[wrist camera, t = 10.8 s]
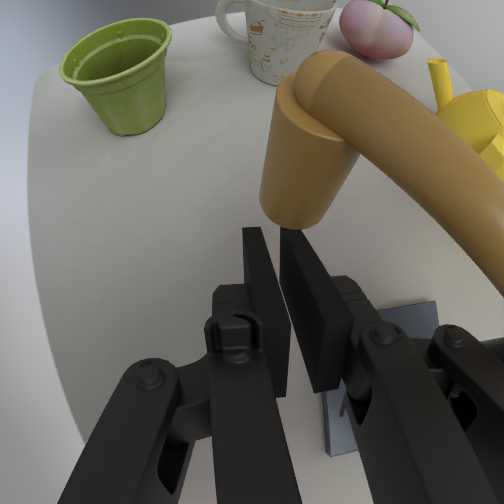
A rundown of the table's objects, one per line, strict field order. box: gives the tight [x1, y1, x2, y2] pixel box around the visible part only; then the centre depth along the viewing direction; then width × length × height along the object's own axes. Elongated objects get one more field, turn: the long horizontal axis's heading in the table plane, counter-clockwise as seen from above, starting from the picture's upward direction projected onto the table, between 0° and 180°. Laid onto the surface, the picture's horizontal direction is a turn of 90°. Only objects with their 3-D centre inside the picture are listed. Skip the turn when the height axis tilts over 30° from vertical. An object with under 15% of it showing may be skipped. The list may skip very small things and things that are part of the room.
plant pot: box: [59, 18, 172, 136], centre depth 22 cm, size 9×9×9 cm
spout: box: [259, 50, 504, 298], centre depth 8 cm, size 16×4×8 cm, turn 47°
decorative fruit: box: [339, 0, 420, 59], centre depth 28 cm, size 9×8×10 cm
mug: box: [215, 0, 336, 86], centre depth 25 cm, size 8×13×10 cm, turn 60°
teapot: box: [427, 59, 504, 182], centre depth 22 cm, size 20×18×11 cm
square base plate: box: [322, 301, 504, 457], centre depth 14 cm, size 10×10×14 cm
